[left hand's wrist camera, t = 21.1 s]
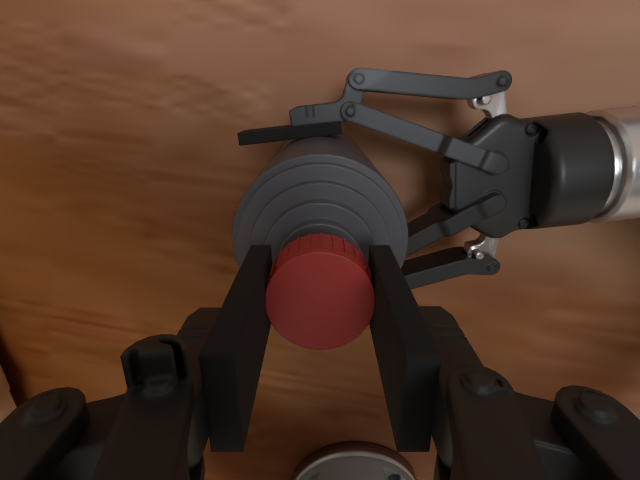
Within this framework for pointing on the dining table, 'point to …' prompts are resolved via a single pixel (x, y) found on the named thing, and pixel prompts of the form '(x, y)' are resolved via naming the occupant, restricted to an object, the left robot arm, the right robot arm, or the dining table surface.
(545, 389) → the dining table surface
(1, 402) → the squash
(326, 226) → the bottle
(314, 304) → the cap
